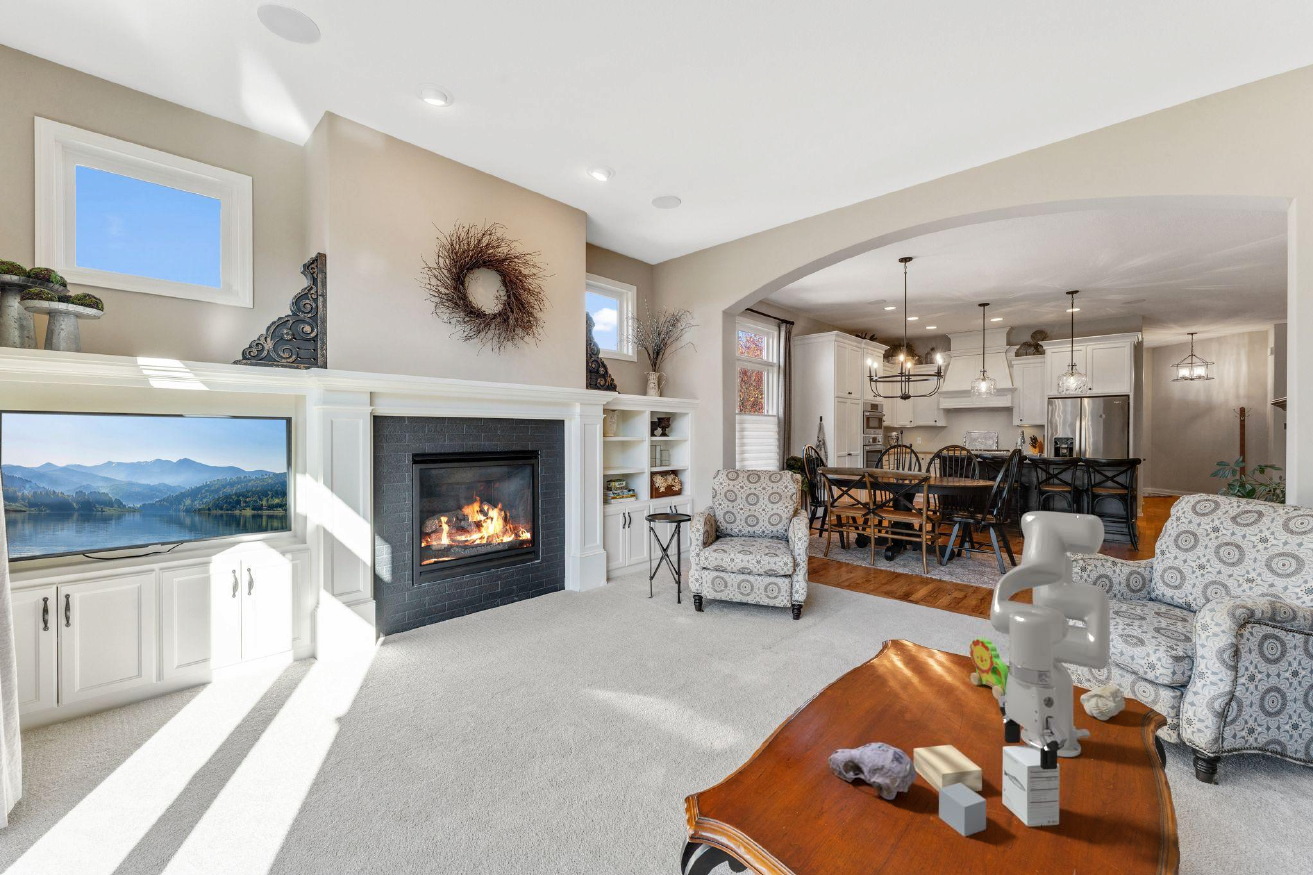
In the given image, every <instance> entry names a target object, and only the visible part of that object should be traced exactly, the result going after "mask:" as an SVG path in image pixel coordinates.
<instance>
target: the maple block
mask: <svg viewBox="0 0 1313 875" xmlns="http://www.w3.org/2000/svg"><path fill="white" fill-rule="evenodd" d="M913 764H914V767H915V769H916V773H918V774H919V775H921V777H922V778H923V779H924V780H925V781H926V782H927V783H929V785H931V786H932V787H933V788H934V789H935V790H936V791H937V792H938V793H939V789H940V788H944V787H947V786H950V785H953V784H957V783H962V784H963V785H965V786H966V787H968V788H969V789H971V790H972V791H974V792H979V791H980V792H981V791H983V769H982V767H980V766H978V765H977V764H976V763H975V762H973V761H972V760H971V759H970V758H968V757H967V756H966V755H964V754H963V753H962V752H961V751H960V750H958V749H957V748H956V747H955V746H953V745H952V744H946V745H945V744H944V745H935V746H927V747H916V748H913Z"/></svg>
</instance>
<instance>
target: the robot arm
mask: <svg viewBox="0 0 1313 875" xmlns="http://www.w3.org/2000/svg"><path fill="white" fill-rule="evenodd" d="M1020 522H1021V523H1020V524H1021V530H1022V534H1023V536H1024V541H1023V546H1022V547H1023V548H1022V554H1021V555H1022V556H1021V563H1020V564H1019V565H1017V566H1016V567H1014V568H1012V569H1010V570H1008V571H1007V572H1006V573H1005V574H1004V575H1003V576H1002V577H1001V578H1000V579H999V580H998V582H997V583H996V585H995V587H994V590H993V596H992V600H991V605H990V612H989V613H990V615H989V620H990V623H991V625H992V627H993V629H994V630H995V631H996V632H999V633H1001V634H1004V635H1008V637H1009V638H1008V639H1009V640H1008V643H1009V644H1008V656H1009V657H1008V659H1009V660H1008V669H1009V673H1008V677H1007V682H1006V690H1005V696H998V699H997V701H998V705H999V711H1000V713H1001V715H1002V722H1003V723H1004V742H1005V743H1006V744H1019V743H1021V739H1022V740H1023V741H1024V743H1026V745H1033V746H1034V747H1036V748H1037V749H1038V750H1040V766H1041V768H1042V769H1044V770H1047V769H1057V763H1058V757H1061V758H1062V757H1063V758H1064V757H1065V758H1073V757H1076V756H1079V755H1081V751H1082V749H1081V748H1082V747H1081V744H1080V743H1079V742H1078V740H1079V739H1080V738H1083V739H1084V738H1090V737H1091V733H1090V731H1089V730H1088V729H1087V728H1086V729H1085V728H1079V729H1077V727H1076V726H1075V725H1074V682H1073V677H1072V675H1071V674H1070V672H1069V670H1068V669H1067V668H1066V666H1065V665H1064V664H1069V665H1074V666H1079V667H1084V668H1089V669H1093V670H1104V669H1106V668H1107V667H1108V665H1109V662H1110V658H1111V608H1110V606H1111V605H1110V599H1109V596H1108V593H1107V591H1105V590H1104V589H1103V588H1102V587H1100V586H1098V585H1094V584H1089V583H1082V582H1075V581H1074V580H1073V572H1074V571H1073V568H1074V564H1073V561H1072V559H1071V558H1070V556H1069V555H1068V554H1067V553H1073V554H1079V555H1080V554H1081V555H1090V556H1091V555H1096V554H1098V552H1099V551H1100V549H1101V547H1102V544H1103V543H1104V542H1103V541H1104V539H1105V526H1104V523H1103V521H1102V520H1101V518H1100V517H1099V516H1097V515H1093V514H1084V513H1070V512H1061V511H1047V510H1046V511H1045V510H1037V511H1036V510H1035V511H1029V512H1026V513H1024V514H1023V515H1022V517H1021V521H1020ZM1027 589H1028V590H1029V589H1032V604H1031V603H1024V602H1018V601H1015V600H1009V599H1010V598H1011V597H1012V596H1014V594H1017V593H1018V592H1020V591H1024V590H1027ZM1068 620H1072V621H1078V622H1082V623H1084V624H1085V625H1086V626H1087V627H1084V626H1078V625H1073V624H1069V621H1068ZM1063 663H1064V664H1063ZM1021 727H1023V728H1022V729H1021Z"/></svg>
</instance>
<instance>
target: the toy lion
mask: <svg viewBox="0 0 1313 875" xmlns="http://www.w3.org/2000/svg"><path fill="white" fill-rule="evenodd" d="M969 656H970V658H971V662H972V664H973V665H974V666H975V670H976V671H975V672H971V674H970V677H969V678H970V681H971V683H972V684H973V685H974V684H975V685H974V686H981V685H986V686H989V687H991V689H992V690H991V692H992V695H993V697H994V698H995V699H996V700H998V696H1005V690H1006V682H1007V677H1008V673H1009V666H1007V664H1006V663H1005V662H1004V661H1003V660H1002V659H1001V657H1000V654H999V651H997V648H996V646H995V645H994V644H993V643H992V641H991V639H986V638H983V637H982V638H976V639H972V640H971V643H970V644H969ZM997 670H999V672H1000V675H1001V677H1000V676H999V674H998V671H997Z"/></svg>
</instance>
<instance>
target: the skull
mask: <svg viewBox="0 0 1313 875" xmlns="http://www.w3.org/2000/svg"><path fill="white" fill-rule="evenodd" d="M827 761H828V764H829V770H830V772H832V771H833V772H834V775H835V776H836V777H837V778H838V777H839V778H840V779H842V780H844V781H847V782H850V783H851V782H852V781H853V780H854V779H855V778H861V779H862V780H864V781H865V782H866V783H868V784H870V785H871V786H872V787H873V788H874V790H876V791H877V793H878V794H879V795H880V796H881V797H882V798H883V799H886V800H889V801H892V800H894V799H895V798H896V795H897V792H901V793H902V792H903V793H908V791H909V789H911V785H912V784H913V783H915V782H916V779H917V771H916V769H915V767H914V761H913V760H912V759H911V758H910V756H908V754H906V752H904V751H903V750H902V749H900V748H898V747H893V746H891V745H890V744H887V743H885V742H871V743H867V744H865V745H862V746H859V747H857V748H853V749H852V748H851V749H850V748H840V749H836V750H834V751H833V753H832V754H831V756H830V757H828V759H827ZM856 774H857V775H856Z"/></svg>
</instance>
